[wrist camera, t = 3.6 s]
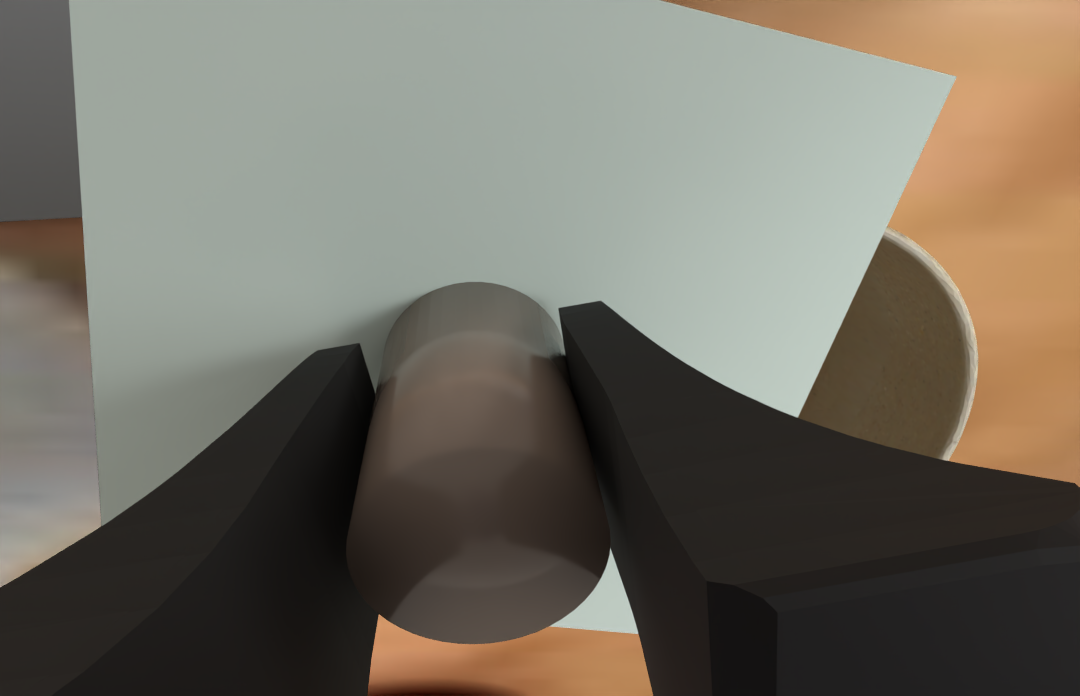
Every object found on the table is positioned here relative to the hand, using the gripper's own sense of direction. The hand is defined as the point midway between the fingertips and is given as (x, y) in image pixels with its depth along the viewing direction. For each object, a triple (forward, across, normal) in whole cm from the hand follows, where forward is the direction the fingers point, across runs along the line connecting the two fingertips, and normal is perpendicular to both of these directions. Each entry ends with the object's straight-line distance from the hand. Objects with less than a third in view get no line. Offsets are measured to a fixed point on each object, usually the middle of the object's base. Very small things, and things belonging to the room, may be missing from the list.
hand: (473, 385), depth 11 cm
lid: (+2, 0, 0) cm, 2 cm away
